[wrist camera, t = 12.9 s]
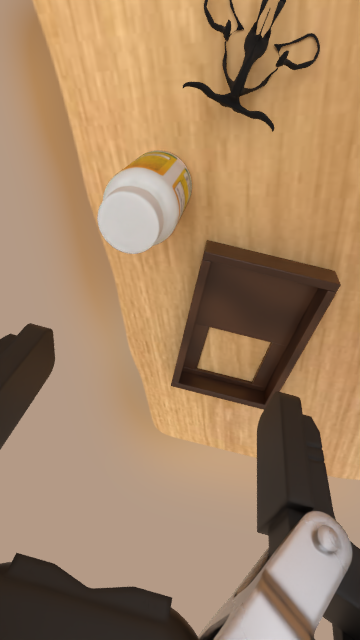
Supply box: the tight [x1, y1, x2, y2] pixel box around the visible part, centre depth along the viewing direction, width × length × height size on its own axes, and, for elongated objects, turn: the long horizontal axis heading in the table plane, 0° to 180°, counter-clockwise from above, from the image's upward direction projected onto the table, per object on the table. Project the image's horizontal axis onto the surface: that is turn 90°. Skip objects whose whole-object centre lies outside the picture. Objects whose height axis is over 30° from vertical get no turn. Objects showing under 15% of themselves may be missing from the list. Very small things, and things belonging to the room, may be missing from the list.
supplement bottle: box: [97, 151, 192, 254], centre depth 24 cm, size 5×5×10 cm
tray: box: [171, 240, 340, 410], centre depth 35 cm, size 18×12×2 cm, turn 170°
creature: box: [183, 0, 320, 132], centre depth 20 cm, size 8×5×8 cm
